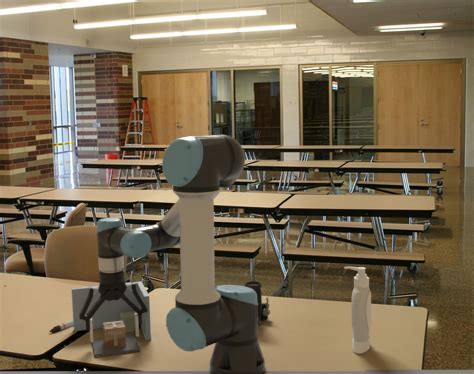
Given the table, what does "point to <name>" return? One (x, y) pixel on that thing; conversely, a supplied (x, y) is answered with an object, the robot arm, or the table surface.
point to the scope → (259, 301)
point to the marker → (62, 326)
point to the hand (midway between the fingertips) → (114, 337)
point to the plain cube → (128, 320)
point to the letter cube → (114, 334)
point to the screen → (110, 308)
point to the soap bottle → (360, 311)
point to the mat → (102, 351)
